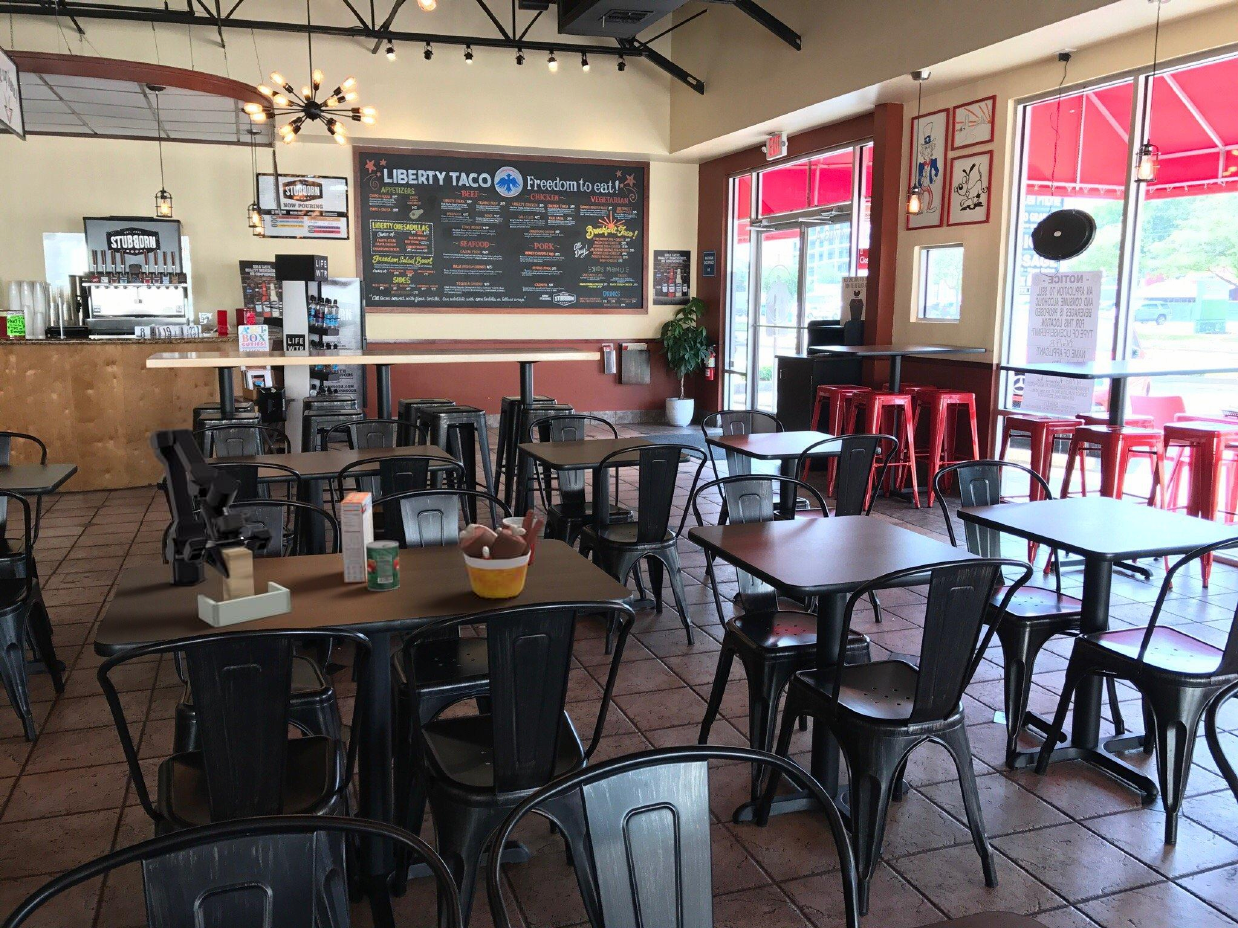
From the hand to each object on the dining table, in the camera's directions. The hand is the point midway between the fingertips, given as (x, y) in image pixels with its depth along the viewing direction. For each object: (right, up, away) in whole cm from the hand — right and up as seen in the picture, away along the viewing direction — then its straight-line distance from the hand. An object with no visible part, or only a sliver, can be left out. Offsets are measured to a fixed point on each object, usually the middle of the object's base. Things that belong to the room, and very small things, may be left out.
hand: (240, 575), depth 219 cm
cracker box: (+18, -4, +33) cm, 38 cm away
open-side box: (+1, -9, 0) cm, 9 cm away
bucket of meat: (+56, -7, +18) cm, 60 cm away
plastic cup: (+59, -2, +47) cm, 75 cm away
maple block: (-1, -6, +2) cm, 7 cm away
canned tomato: (+27, -6, +23) cm, 36 cm away
